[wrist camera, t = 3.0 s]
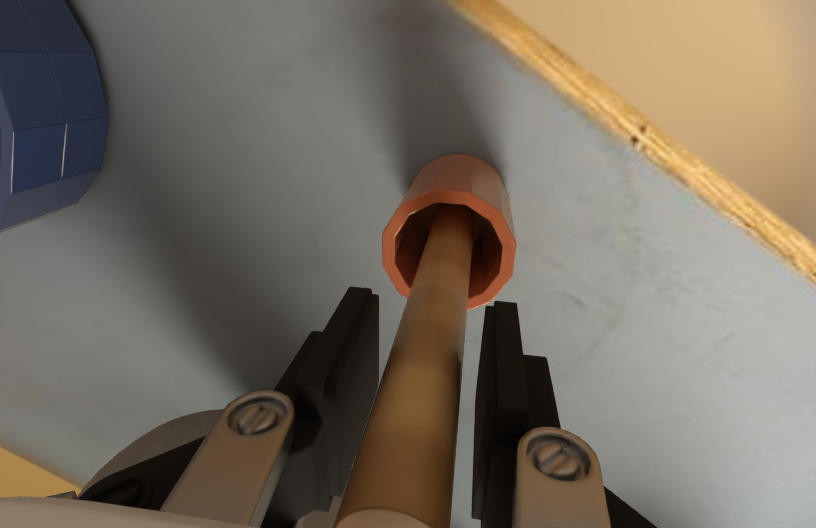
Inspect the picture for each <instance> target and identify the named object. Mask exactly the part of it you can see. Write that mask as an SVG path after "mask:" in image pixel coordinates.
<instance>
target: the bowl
mask: <svg viewBox="0 0 816 528" xmlns="http://www.w3.org/2000/svg"><path fill="white" fill-rule="evenodd" d="M107 123H108V111H107V106H106V102H105V98H104V93H103V89H102V85H101V80H100V76H99V72H98V67H97V63H96V59H95V54H94V53H93V50H92V48H91V46H90V44H89V43H88V41H87V39H86V37H85V36H84V34H83V32H82V30H81V28H80V27H79V25H78V23H77V21H76V20H75V18H74V16H73V14H72V12H71V11H70V9H69V7H68V5H67V4H66V2H65V0H0V233H1V232H4V231H6V230H9V229H12V228H15V227H17V226H20V225H23V224H26V223H29V222H31V221H34V220H37V219H40V218H42V217H45V216H47V215H49V214H52V213H54V212H57V211H59V210H61V209H64V208H66V207H68V206H71V205H73V204H76V203H77V202H78V201H79V200H80V198H81V197H82V196H83V194H84V193H85V191H86V190H87V188H88V187H89V186H90V184H91V183H92V181H93V180H94V178H95V177H96V176H97V174H98V173H99V171H100V170H101V167H102V161H103V153H104V146H105V138H106V130H107Z"/></svg>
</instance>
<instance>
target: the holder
mask: <svg viewBox="0 0 816 528" xmlns="http://www.w3.org/2000/svg"><path fill="white" fill-rule="evenodd" d="M439 203H449V204H463V205H467V206H468V207H470V208H471V209H473V210H474V211H475V213H474V226H473V239H472V252H471V264H470V277H469V290H468V303H467V311H468V310H471V309H474V308H476V307H479V306H482V305H484V304H487V303H490V302H491V301H492V300H493V299H494V298H495V297H496V295H497V294H498V293H499V292H500V291H501V289H502V288H503V287H504V286H505V285H506V283H507V282H508V281H509V280H510V279H511V277H512V275H513V267H514V260H515V252H516V239H515V233H514V226H513V220H512V214H511V207H510V201H509V195H508V193H507V191H506V188H505V185H504V182H503V180H502V179H501V177H500V175H499V173H498V172H497V171H496V170H495V169H494V168H493V167H492V166H491V165H490V164H488V163H487V162H486V161H484V160H482V159H480V158H478V157H475V156H472V155H468V154H448V155H444V156H441V157H439V158H436V159H434V160H433V161H431V162H430V163H428V164H427V165H425V166H424V167H423V168H421V170H420V172H419V173H418V175H417V176H416V178H415V179H414V181H413V183H412V184H411V186H410V187H409V189H408V191H407V192H406V194H405V196H404V197H403V199H402V201H401V202H400V204H399V206H398V207H397V209H396V211H395V213H394V214H393V216H392V218H391V219H390V221H389V223H388V224H387V226H386V228H385V229H384V231H383V238H382V264H383V267H384V269H385V270H386V272H387V274H388V275H389V277H390V279H391V281H392V282H393V284H394V286H395V287H396V289H397V291H398V292H399V293H400V294H401V295H403V296H405V297H406V298H408V297H409V293H410V290H411V287H412V284H413V281H414V278H415V275H416V272H417V269H418V266H419V263H420V260H421V257H422V254H423V251H424V248H425V244H426V241H427V238H428V235H429V232H430V229H431V226H432V223H433V220H434V217H435V214H436V211H437V208H438V205H439Z"/></svg>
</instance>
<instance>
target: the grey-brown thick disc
mask: <svg viewBox="0 0 816 528" xmlns="http://www.w3.org/2000/svg"><path fill="white" fill-rule="evenodd" d="M223 410H224V409H220V410H209V411H203V412H198V413H193V414H189V415H186V416H182V417H179V418H176V419H174V420H171V421H169V422H167V423H165V424H163V425H161V426H159V427H157V428H155V429H153V430H151V431H150V432H148V433H147V434H145V435H143V436H142V437H140V438H139V439H137V440H136V441H134V442H133V443H131V444H130V445H129V446H127V447H126V448H125V449H123V450H122V451H121V452H119V453H118V454H117V455H116V456H115V457H114V458H112V459H111V460H110V461H109V462H108V463H107V464H106V465H105V466H104V467H102V468H101V469H100V470H99V471H98V472H97V473H96V475H95V476H94V477H93V478H92V479H91V480H90V481H89V483H88V484H87V485H86V486H85V487H84V488H83V490H82V491H81V492H80V493H79V495H78V496H77V497H80V496H81V495H82V494H83V493H84V492H85V491H86V490H87V489H88V488H90V487H91V486H92V485H94V484H95V483H96V482H98V481H99V480H101V479H103V478H105V477H107V476H109V475H111V474H113V473H116V472H118V471H120V470H123V469H125V468H128V467H130V466H133V465H135V464H138V463H140V462H142V461H145V460H147V459H150V458H152V457H155V456H157V455H160V454H162V453H165V452H167V451H169V450H172V449H174V448H177V447H179V446H182V445H184V444H187V443H189V442H191V441H194V440H196V439H199V438H201V437H204V436H206V435H207V434H208V433H209V431H210V429H211V428H212V426H213V425H214V423H215V422H216V420H217V418H218V417H219V415H220V414H221V412H222V411H223ZM351 471H352V470H351ZM351 471H350V474H351ZM350 474H349V477H350ZM349 477H348V480H349ZM348 480H347V483H346V486H345V489H344V492H343V495H342V497H335V496H334V498H333V501H332V504H331V507H330V509H329V512H324V511H318V510H315V511H313V512H311V513H309V514H308V515H306V516H305V519H304V527H303V528H333V526H334V523H335V520H336V517H337V514H338V511H339V508H340V505H341V502H342V499H343V496H344V493H345V490H346V487H347V484H348Z"/></svg>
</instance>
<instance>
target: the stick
mask: <svg viewBox="0 0 816 528" xmlns="http://www.w3.org/2000/svg"><path fill="white" fill-rule="evenodd" d="M474 213H475V211H474V210H473V209H471V208H470V207H468V206H467V205H463V204H449V203H439V205H438V208H437V211H436V214H435V217H434V220H433V223H432V226H431V229H430V232H429V235H428V238H427V241H426V244H425V248H424V251H423V254H422V257H421V260H420V263H419V266H418V269H417V272H416V275H415V278H414V281H413V284H412V287H411V290H410V293H409V297H408V300H407V303H406V306H405V309H404V312H403V315H402V318H401V321H400V324H399V327H398V330H397V333H396V336H395V339H394V343H393V346H392V349H391V352H390V355H389V358H388V361H387V364H386V367H385V370H384V373H383V376H382V379H381V382H380V385H379V389H378V392H377V395H376V398H375V401H374V404H373V407H372V410H371V413H370V416H369V419H368V422H367V425H366V428H365V431H364V434H363V438H362V441H361V444H360V447H359V450H358V453H357V456H356V459H355V462H354V465H353V468H352V471H351V474H350V477H349V480H348V484H347V487H346V490H345V493H344V496H343V499H342V502H341V505H340V508H339V511H338V514H337V517H336V520H335V523H334V526H333V528H450V521H451V508H452V495H453V482H454V469H455V457H456V444H457V431H458V418H459V405H460V393H461V380H462V367H463V354H464V341H465V329H466V316H467V303H468V290H469V277H470V264H471V252H472V239H473V226H474Z"/></svg>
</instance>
